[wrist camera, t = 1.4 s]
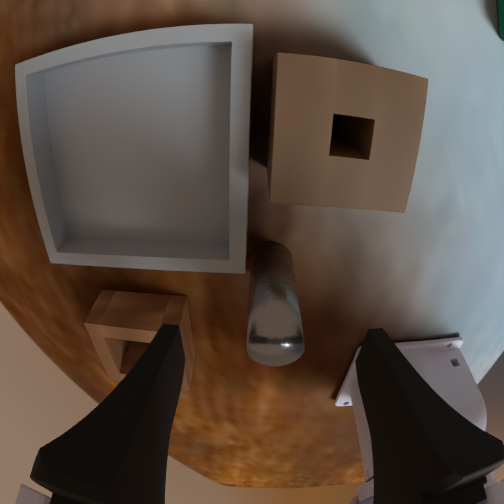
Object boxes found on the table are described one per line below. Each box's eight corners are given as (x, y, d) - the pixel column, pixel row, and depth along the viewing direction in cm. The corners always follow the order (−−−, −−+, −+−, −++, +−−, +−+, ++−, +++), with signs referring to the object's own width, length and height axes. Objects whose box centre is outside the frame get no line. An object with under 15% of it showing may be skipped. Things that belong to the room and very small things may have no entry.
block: (384, 74, 11) (428, 79, 8) (371, 176, 14) (404, 213, 10) (272, 59, 11) (278, 52, 8) (267, 168, 14) (269, 203, 10)
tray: (253, 32, 10) (252, 23, 9) (246, 246, 16) (245, 273, 14) (43, 61, 10) (14, 64, 9) (69, 240, 16) (50, 262, 14)
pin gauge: (294, 243, 16) (309, 330, 11) (289, 277, 17) (300, 366, 12) (251, 241, 16) (247, 328, 11) (249, 276, 17) (246, 365, 12)
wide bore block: (187, 295, 18) (177, 333, 15) (195, 355, 21) (189, 390, 18) (102, 289, 18) (83, 322, 15) (122, 347, 21) (110, 379, 18)
